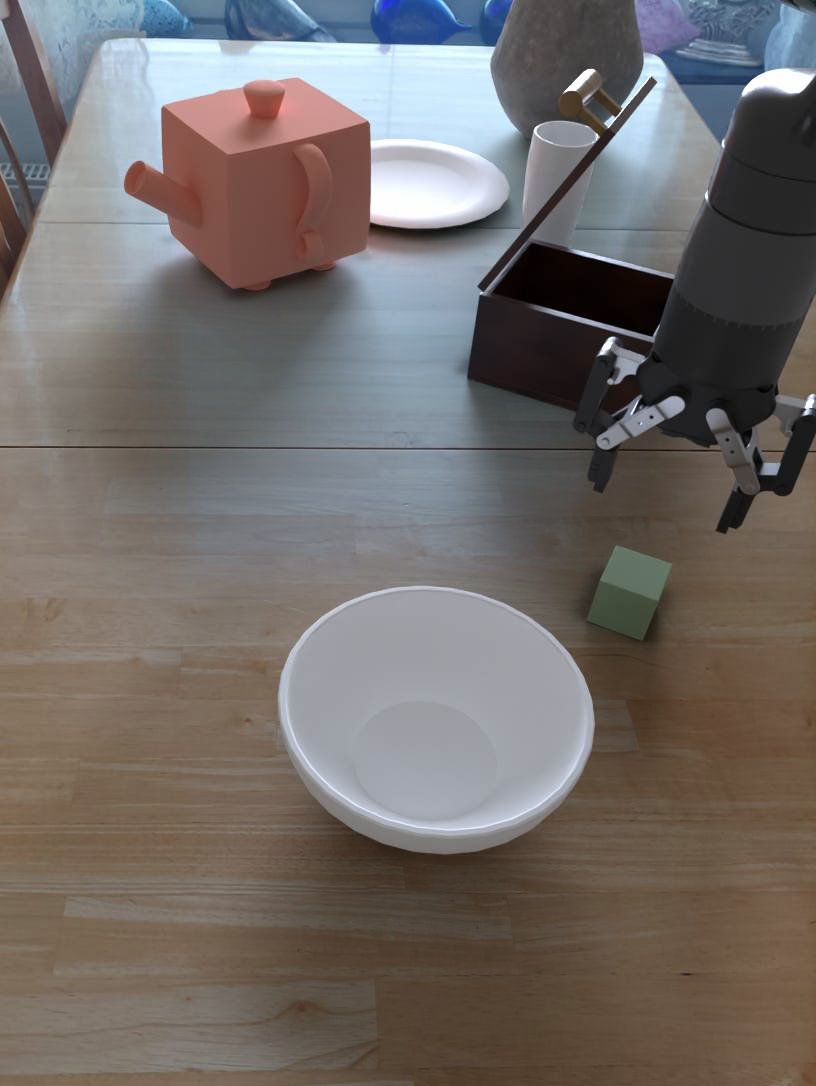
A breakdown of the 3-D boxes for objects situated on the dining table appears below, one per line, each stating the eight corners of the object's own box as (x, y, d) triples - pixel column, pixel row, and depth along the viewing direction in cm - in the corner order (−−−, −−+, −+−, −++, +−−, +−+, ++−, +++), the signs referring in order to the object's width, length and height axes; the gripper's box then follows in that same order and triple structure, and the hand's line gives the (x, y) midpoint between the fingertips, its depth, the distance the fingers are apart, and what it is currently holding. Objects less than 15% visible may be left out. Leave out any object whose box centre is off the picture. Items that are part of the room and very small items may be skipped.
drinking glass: (503, 282, 108) (527, 141, 96) (514, 254, 112) (538, 116, 101) (563, 293, 107) (595, 151, 95) (572, 264, 111) (604, 125, 100)
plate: (268, 184, 122) (268, 171, 121) (409, 135, 133) (411, 122, 132) (407, 262, 110) (408, 247, 109) (549, 200, 121) (552, 187, 120)
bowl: (341, 621, 73) (345, 553, 68) (596, 700, 69) (622, 634, 64) (229, 831, 61) (223, 769, 56) (530, 943, 57) (555, 887, 52)
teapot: (189, 342, 98) (171, 160, 84) (95, 248, 110) (67, 76, 97) (390, 279, 107) (403, 106, 94) (283, 199, 120) (281, 36, 106)
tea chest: (667, 362, 98) (694, 279, 92) (633, 429, 91) (660, 344, 84) (511, 318, 103) (526, 236, 96) (466, 378, 95) (479, 294, 89)
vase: (555, 177, 126) (601, -53, 107) (454, 127, 136) (479, -92, 117) (651, 141, 135) (709, -78, 116) (550, 97, 144) (588, -112, 125)
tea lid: (657, 81, 82) (612, 37, 81) (615, 134, 74) (564, 86, 74) (529, 234, 96) (489, 198, 95) (483, 292, 88) (439, 253, 88)
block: (657, 604, 76) (673, 563, 72) (642, 641, 73) (658, 601, 70) (602, 585, 77) (616, 544, 74) (585, 621, 74) (599, 580, 71)
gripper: (602, 281, 54) (545, 504, 66) (867, 352, 50) (755, 574, 62) (637, 227, 59) (578, 445, 71) (883, 288, 55) (776, 507, 67)
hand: (661, 505), depth 67 cm, fingers open, 8 cm apart
